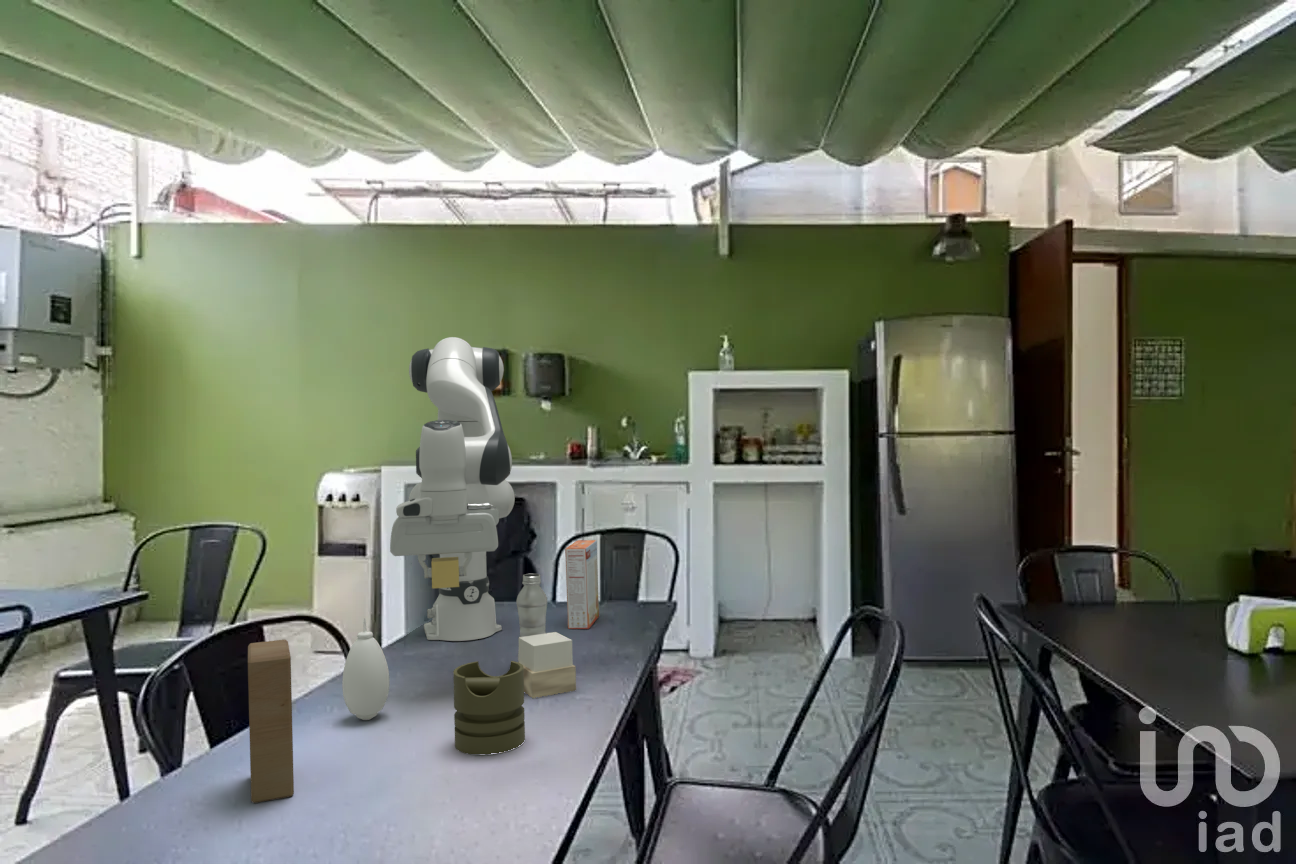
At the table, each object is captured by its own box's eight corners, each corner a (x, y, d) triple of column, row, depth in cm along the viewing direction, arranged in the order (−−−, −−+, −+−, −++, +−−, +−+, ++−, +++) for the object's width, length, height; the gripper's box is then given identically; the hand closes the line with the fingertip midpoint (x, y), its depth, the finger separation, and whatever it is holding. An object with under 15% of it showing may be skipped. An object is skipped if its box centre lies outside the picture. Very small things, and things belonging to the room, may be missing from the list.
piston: (516, 678, 136) (445, 679, 137) (518, 755, 137) (446, 755, 137) (528, 659, 148) (462, 660, 148) (530, 729, 148) (464, 730, 148)
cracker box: (577, 617, 234) (576, 539, 234) (599, 617, 233) (598, 539, 233) (565, 629, 220) (564, 547, 220) (589, 629, 219) (587, 547, 219)
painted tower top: (518, 662, 172) (518, 637, 172) (556, 656, 176) (555, 631, 176) (534, 672, 166) (533, 646, 165) (572, 665, 170) (572, 640, 169)
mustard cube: (432, 583, 169) (431, 558, 169) (458, 582, 170) (458, 556, 170) (432, 588, 164) (431, 562, 164) (459, 586, 165) (458, 560, 165)
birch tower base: (515, 687, 173) (515, 662, 173) (557, 680, 177) (557, 655, 177) (532, 699, 165) (532, 673, 165) (576, 691, 169) (575, 666, 169)
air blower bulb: (398, 713, 158) (396, 614, 157) (371, 727, 150) (369, 623, 150) (362, 709, 160) (360, 612, 160) (334, 723, 153) (331, 621, 153)
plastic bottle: (544, 674, 181) (542, 578, 181) (513, 672, 182) (511, 577, 182) (553, 665, 187) (551, 572, 187) (523, 664, 188) (521, 572, 188)
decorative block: (251, 775, 130) (248, 642, 130) (292, 769, 132) (289, 638, 132) (249, 805, 120) (246, 660, 120) (294, 797, 122) (290, 655, 122)
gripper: (497, 501, 172) (499, 570, 172) (390, 505, 168) (392, 577, 168) (499, 504, 166) (501, 576, 166) (388, 508, 161) (390, 582, 162)
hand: (445, 576), depth 167 cm, fingers closed on mustard cube, 5 cm apart
